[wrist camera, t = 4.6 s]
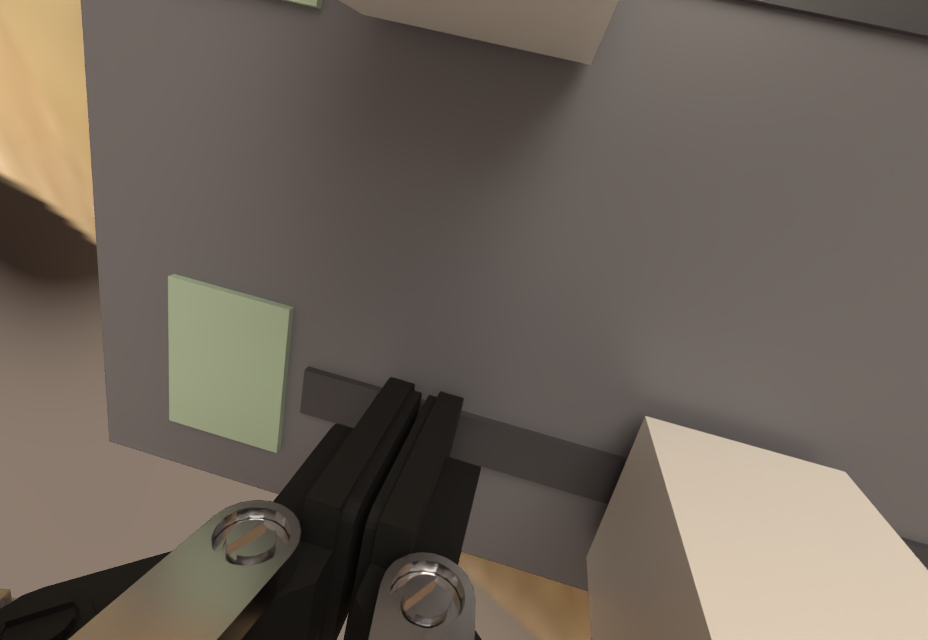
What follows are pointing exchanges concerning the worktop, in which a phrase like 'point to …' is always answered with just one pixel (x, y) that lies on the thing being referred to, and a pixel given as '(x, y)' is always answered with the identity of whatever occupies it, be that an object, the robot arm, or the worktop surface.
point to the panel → (517, 243)
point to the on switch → (507, 22)
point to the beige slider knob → (746, 549)
